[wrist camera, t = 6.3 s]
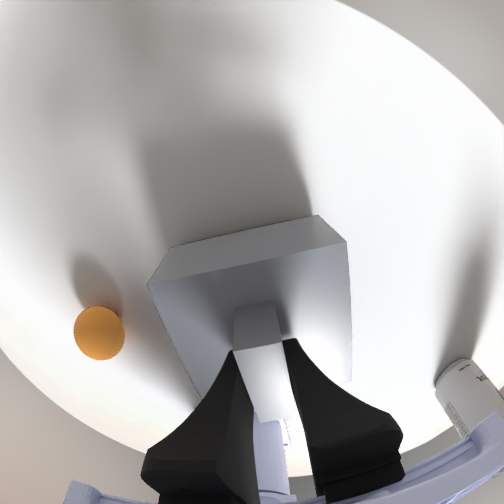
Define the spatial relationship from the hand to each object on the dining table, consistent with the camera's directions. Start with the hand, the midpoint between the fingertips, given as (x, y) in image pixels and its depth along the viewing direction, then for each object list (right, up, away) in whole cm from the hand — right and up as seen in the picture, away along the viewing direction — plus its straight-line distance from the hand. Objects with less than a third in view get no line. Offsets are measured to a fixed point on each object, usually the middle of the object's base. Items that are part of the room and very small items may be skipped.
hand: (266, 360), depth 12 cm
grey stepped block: (0, +2, +6) cm, 6 cm away
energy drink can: (+23, -9, +11) cm, 27 cm away
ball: (-12, -1, +5) cm, 13 cm away
